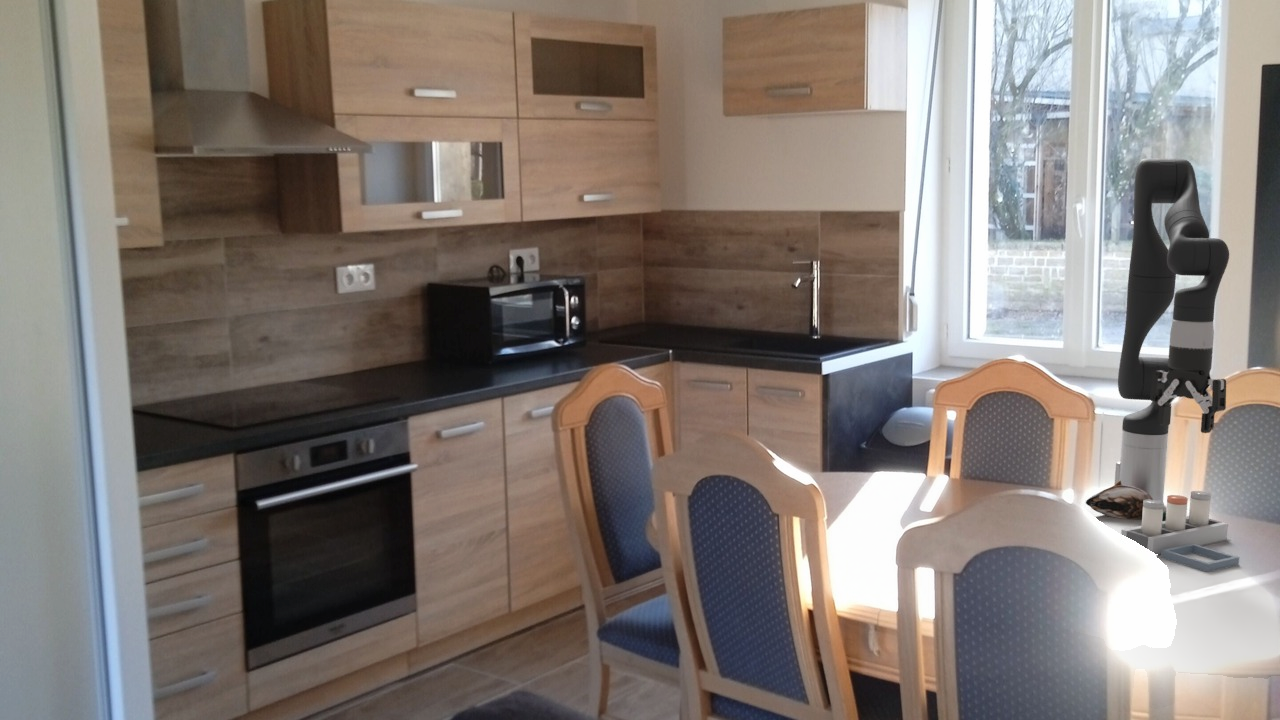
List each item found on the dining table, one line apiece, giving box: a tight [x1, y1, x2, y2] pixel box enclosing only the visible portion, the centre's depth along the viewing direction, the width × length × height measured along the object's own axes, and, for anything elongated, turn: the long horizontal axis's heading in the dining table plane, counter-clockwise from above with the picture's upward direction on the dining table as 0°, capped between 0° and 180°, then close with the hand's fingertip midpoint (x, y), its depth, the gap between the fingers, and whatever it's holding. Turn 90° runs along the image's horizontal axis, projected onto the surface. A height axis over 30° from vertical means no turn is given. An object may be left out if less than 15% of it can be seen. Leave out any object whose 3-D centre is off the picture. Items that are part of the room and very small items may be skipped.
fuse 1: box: [1140, 499, 1165, 537], centre depth 238 cm, size 4×4×9 cm
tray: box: [1160, 544, 1240, 573], centre depth 230 cm, size 10×9×3 cm
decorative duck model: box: [1085, 481, 1166, 521], centre depth 258 cm, size 15×8×15 cm
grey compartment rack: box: [1120, 515, 1231, 557], centre depth 242 cm, size 8×23×4 cm, turn 120°
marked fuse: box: [1165, 494, 1189, 532], centre depth 241 cm, size 4×4×9 cm
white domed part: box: [1188, 490, 1212, 527], centre depth 245 cm, size 4×4×9 cm
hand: (1184, 428), depth 237 cm, fingers open, 8 cm apart
